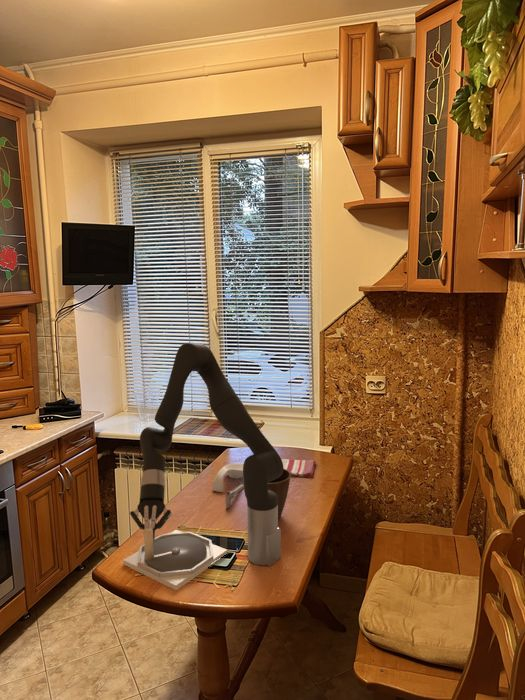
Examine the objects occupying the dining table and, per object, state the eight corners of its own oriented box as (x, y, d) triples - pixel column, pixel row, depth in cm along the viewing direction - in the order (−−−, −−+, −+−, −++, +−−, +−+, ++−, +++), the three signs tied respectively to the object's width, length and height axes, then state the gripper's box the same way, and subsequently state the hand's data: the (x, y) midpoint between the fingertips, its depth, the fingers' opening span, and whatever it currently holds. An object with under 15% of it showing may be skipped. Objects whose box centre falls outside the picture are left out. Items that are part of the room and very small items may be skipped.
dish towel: (312, 479, 216) (312, 473, 216) (257, 475, 220) (257, 469, 220) (315, 464, 233) (315, 458, 232) (264, 461, 237) (264, 455, 236)
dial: (196, 533, 169) (195, 504, 167) (215, 562, 152) (214, 530, 150) (138, 546, 161) (137, 516, 159) (152, 578, 144) (150, 545, 143)
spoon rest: (231, 469, 227) (231, 453, 226) (256, 472, 223) (255, 457, 222) (205, 490, 206) (204, 473, 205) (231, 495, 201) (231, 477, 200)
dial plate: (227, 554, 159) (227, 545, 159) (176, 590, 142) (175, 580, 141) (176, 533, 172) (175, 525, 172) (123, 564, 154) (123, 555, 154)
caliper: (228, 509, 189) (228, 493, 188) (225, 509, 190) (225, 493, 189) (244, 486, 209) (244, 472, 208) (242, 486, 209) (241, 471, 208)
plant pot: (254, 530, 174) (253, 485, 171) (243, 510, 188) (243, 468, 185) (296, 524, 178) (296, 480, 175) (283, 505, 192) (282, 464, 189)
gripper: (129, 483, 161) (124, 540, 151) (172, 481, 162) (170, 538, 152) (133, 491, 167) (128, 547, 157) (174, 490, 168) (172, 545, 158)
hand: (149, 542), depth 154 cm, fingers closed
